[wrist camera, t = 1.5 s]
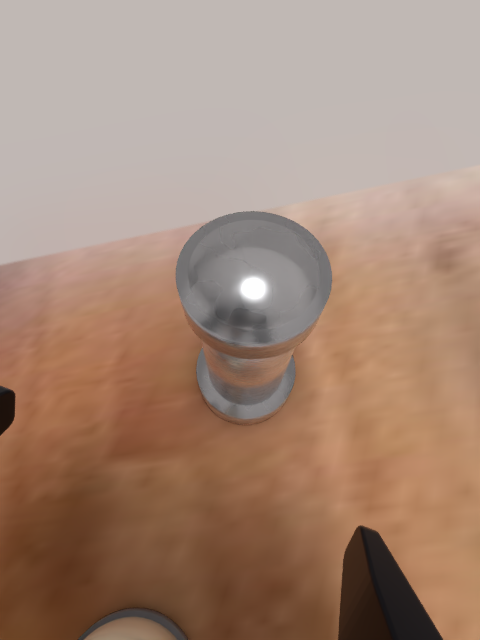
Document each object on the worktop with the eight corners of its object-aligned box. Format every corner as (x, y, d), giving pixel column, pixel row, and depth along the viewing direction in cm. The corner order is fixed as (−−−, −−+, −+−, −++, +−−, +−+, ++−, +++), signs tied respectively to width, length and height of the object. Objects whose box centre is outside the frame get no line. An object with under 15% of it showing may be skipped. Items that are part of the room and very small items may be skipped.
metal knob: (306, 404, 22) (374, 314, 11) (217, 439, 21) (199, 379, 10) (268, 325, 24) (295, 188, 14) (187, 353, 23) (146, 231, 13)
